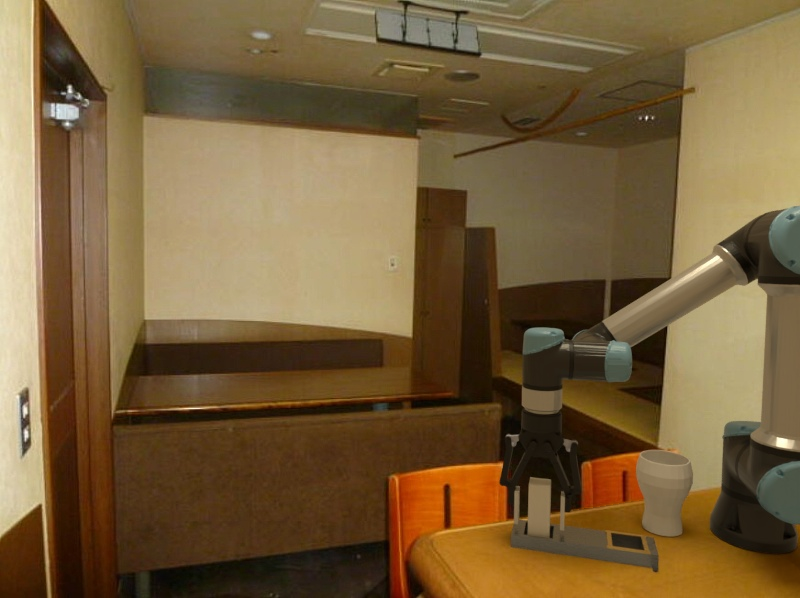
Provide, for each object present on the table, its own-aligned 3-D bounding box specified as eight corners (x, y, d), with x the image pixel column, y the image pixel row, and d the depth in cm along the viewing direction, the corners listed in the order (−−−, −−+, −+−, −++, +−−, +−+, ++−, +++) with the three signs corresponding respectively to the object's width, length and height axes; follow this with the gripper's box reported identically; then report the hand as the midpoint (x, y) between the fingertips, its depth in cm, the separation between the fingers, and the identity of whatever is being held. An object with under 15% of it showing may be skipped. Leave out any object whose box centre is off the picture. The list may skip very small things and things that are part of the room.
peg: (549, 538, 114) (551, 479, 113) (548, 548, 110) (550, 487, 109) (529, 535, 115) (530, 477, 114) (527, 545, 111) (528, 484, 111)
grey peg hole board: (653, 552, 110) (653, 536, 110) (658, 571, 103) (658, 554, 103) (514, 533, 118) (514, 517, 117) (510, 549, 111) (511, 533, 111)
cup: (697, 543, 114) (700, 468, 113) (640, 537, 116) (642, 464, 115) (682, 519, 124) (685, 450, 123) (630, 514, 126) (632, 447, 125)
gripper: (598, 408, 111) (594, 523, 113) (490, 400, 117) (488, 509, 119) (599, 418, 104) (596, 540, 106) (484, 409, 110) (482, 525, 112)
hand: (539, 523), depth 113 cm, fingers open, 8 cm apart
